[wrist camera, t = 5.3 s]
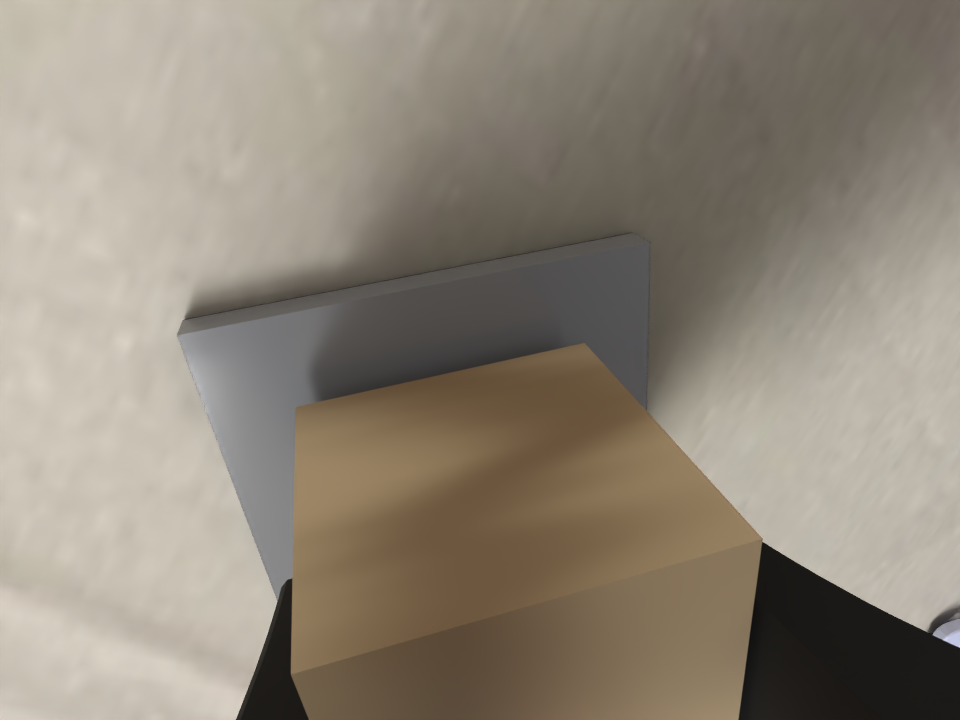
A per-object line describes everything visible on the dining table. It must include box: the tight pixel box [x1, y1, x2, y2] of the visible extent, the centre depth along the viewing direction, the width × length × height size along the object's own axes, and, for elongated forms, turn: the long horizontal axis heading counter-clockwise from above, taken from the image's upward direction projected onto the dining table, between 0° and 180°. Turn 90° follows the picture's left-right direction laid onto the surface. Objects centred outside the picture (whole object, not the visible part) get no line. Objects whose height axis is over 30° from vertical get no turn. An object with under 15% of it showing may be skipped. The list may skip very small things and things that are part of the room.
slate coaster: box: [177, 233, 650, 601], centre depth 13 cm, size 8×8×1 cm
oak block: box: [291, 343, 762, 720], centre depth 10 cm, size 5×5×5 cm
